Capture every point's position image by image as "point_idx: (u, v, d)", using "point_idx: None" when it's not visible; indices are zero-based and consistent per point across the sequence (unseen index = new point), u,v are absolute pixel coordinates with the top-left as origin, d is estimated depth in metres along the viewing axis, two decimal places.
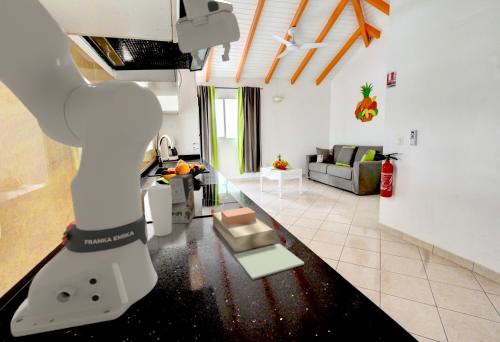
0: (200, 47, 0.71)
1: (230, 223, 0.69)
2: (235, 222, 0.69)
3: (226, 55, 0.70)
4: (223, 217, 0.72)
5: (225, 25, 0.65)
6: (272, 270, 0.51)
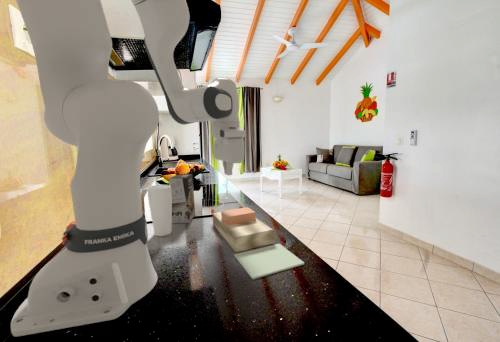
0: (220, 159, 0.79)
1: (230, 223, 0.69)
2: (235, 222, 0.69)
3: (228, 170, 0.77)
4: (223, 217, 0.72)
5: (229, 149, 0.69)
6: (272, 270, 0.51)
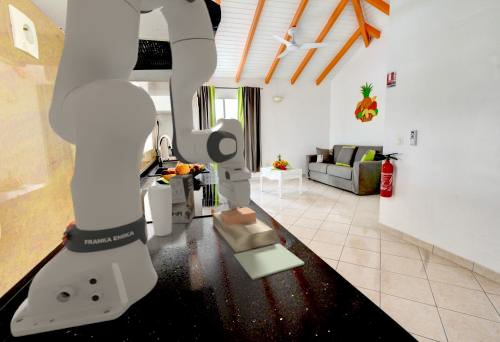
0: (225, 197, 0.77)
1: (230, 223, 0.69)
2: (235, 222, 0.69)
3: None
4: (223, 217, 0.72)
5: (235, 192, 0.68)
6: (272, 270, 0.51)
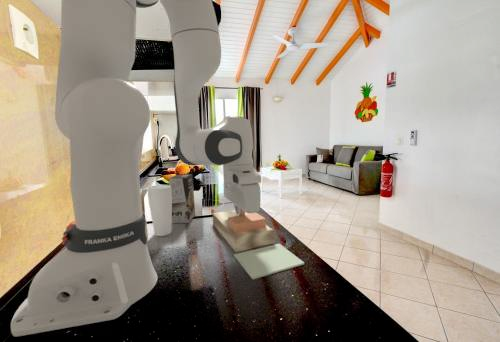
0: (232, 202, 0.71)
1: (238, 231, 0.63)
2: (244, 230, 0.63)
3: None
4: (230, 224, 0.66)
5: (243, 197, 0.62)
6: (272, 270, 0.51)
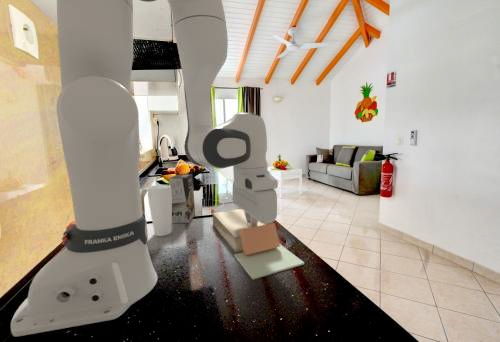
0: (242, 209, 0.64)
1: None
2: None
3: (252, 225, 0.62)
4: (242, 238, 0.58)
5: (258, 205, 0.54)
6: (272, 270, 0.51)
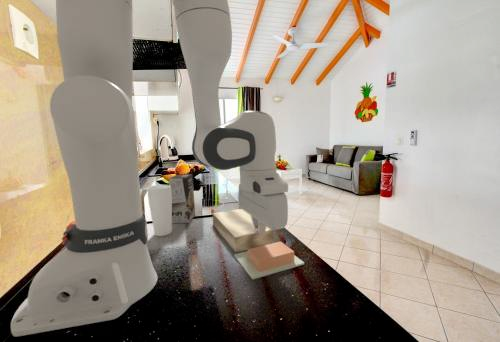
0: (249, 213, 0.60)
1: None
2: None
3: (260, 230, 0.57)
4: (254, 261, 0.52)
5: (267, 210, 0.50)
6: (272, 270, 0.51)
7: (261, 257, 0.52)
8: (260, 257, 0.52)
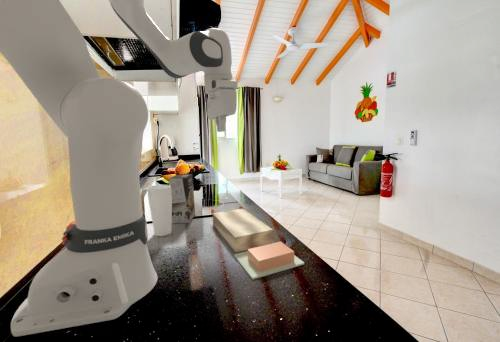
0: (213, 116, 0.77)
1: None
2: None
3: (220, 126, 0.75)
4: (254, 261, 0.52)
5: (221, 100, 0.68)
6: (272, 270, 0.51)
7: (261, 257, 0.52)
8: (260, 257, 0.52)
